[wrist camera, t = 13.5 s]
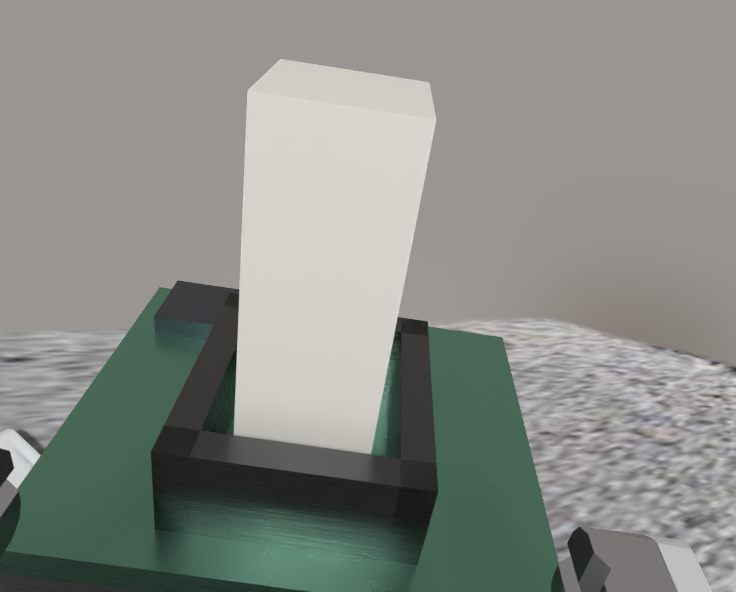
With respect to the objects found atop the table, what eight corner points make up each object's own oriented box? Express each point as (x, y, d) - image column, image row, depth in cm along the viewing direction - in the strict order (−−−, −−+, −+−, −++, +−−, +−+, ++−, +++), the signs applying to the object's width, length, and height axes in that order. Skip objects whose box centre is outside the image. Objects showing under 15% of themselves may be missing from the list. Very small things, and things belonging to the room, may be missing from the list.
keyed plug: (231, 490, 19) (247, 90, 13) (262, 391, 23) (285, 54, 17) (360, 508, 19) (436, 119, 13) (368, 406, 23) (428, 76, 17)
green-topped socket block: (24, 721, 21) (-47, 464, 15) (164, 432, 33) (157, 227, 27) (494, 781, 21) (612, 555, 15) (460, 474, 33) (519, 281, 27)
